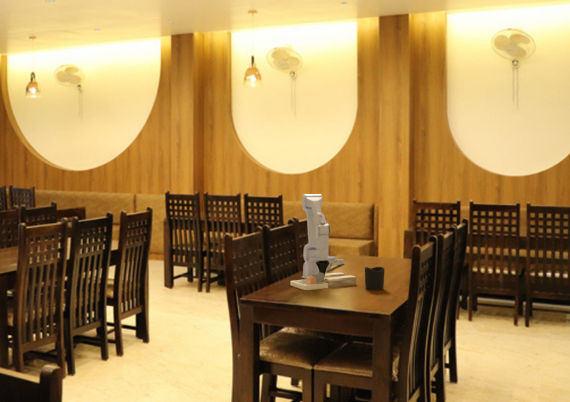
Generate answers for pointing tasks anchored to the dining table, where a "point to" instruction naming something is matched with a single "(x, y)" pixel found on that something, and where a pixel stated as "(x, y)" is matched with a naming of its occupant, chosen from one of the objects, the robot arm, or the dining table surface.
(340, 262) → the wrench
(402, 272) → the dining table surface
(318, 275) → the matte grey cube
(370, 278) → the pen holder
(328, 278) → the grooved board
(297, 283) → the tray
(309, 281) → the terracotta cube
